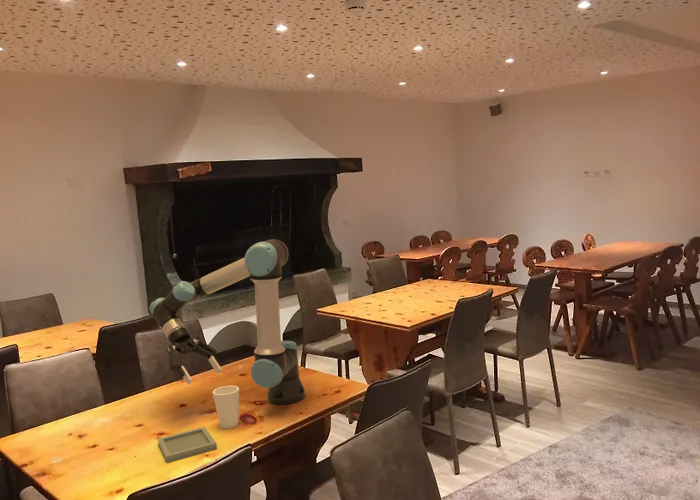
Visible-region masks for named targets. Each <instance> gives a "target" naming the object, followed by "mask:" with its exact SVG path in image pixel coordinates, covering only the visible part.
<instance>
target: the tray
mask: <svg viewBox="0 0 700 500" xmlns="http://www.w3.org/2000/svg"><path fill="white" fill-rule="evenodd" d="M157 444H158V446H159V448H160V449H159V450H160V451H161V453H162V455H163V458H164V460H165V461H166V463H167V464H168V463H171V462H175V461H177V460H182V459H185V458H189V457H193V456H196V455H200V454H203V453H207V452H210V451H215V450H217V449H218V447H217V442H216V441H215V439H214V438H213V436H212V435H211V433H210V432H209V431H208V429H207V428H206V427H205V426H202V427H198V428H194V429H190V430H187V431H182V432H179V433H174V434H170V435H167V436H163V437H159V438H157Z"/></svg>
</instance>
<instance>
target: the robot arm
mask: <svg viewBox="0 0 700 500" xmlns="http://www.w3.org/2000/svg"><path fill="white" fill-rule="evenodd" d="M288 260H289V249H288V247H287V245H286V244H285V243H284V242H283V241H281V240H280V239H275V238H274V239H272V238H270V239H267V240H265V241H259V242H258V241H257V243H255V244H253V245H251V246H250V247H249V248H248V249H247V251H246V253H245V255H244V257H243V258H241V259H238V260H236V261H233V262H231V263H229V264H227V265H226V266H223V267H221V268H219V269H217V270H214V271H212V272H210V273H208V274H206V275H204V276H202V277H200V278H198V279H195V280H193V281H191V282H188V281H186V280H181V281H179V282H178V284H175V286H174V287H173V289H172V290H171V291H170V292H169V293H168V294H167V295H166V297H159V298H156V299H155V300H153V301H152V302H151V303H150V305H149V312H150V313H151V315H152V317H153V318H154V319H155V321H156V323H157V324H158V325H159V327H160V329H161V330H162V332H163V333H164V335H165V337H166V338H167V339H168V341H169V343H170V344H169V345H168V347H167V348H166V351H167V353H168V360H169V371H173V372H175V373H178V375H179V376H180V377H181V378H183V380H184V381H185V383H186V384H187V386H188V385H190V384H191V383H192V381H193V379H192V377H191V376H190V374H189V373H188V370H187V369H186V368H185V366H184V365H182V360H183V356H184V355H186V354H190V353H197V354H198V355H201V356H202V357H205V358H207V359H208V360H207V361H208V362H209V363H210V365H211V367H212V368H213V369H214V371H215V372H216V374H220V372H221V371H222V367H221V365H220V364H219V360H218V359H217V357H216V354H217V353H218V351H217V350H216V349H214V348H213V347H212V346H210V345H208V344H207V343H206V342H204V341H203V340H202V339H201V337H199V336H196V337H195V338H193V339H192V338H191V334H190V333H189V331H188V330H187V328H186V327H185V325H184V324H183V322H182V321H181V319H180V317H179V316H178V313H179V312H180V311H181V310H183V308H184V307H185V306H186V305H188V304H190V303H193V302H195V301H197V300H200V299H203V298H205V297H207V296H209V295H210V294H213V293H216V292H217V291H219V290H222V289H224V288H226V287H228V286H231V285H233V284H235V283H238V282H240V281H241V280H245V279H247V278H250V279H249V280H250V281H252V282H253V283H254V295H255V298H254V299H255V313H256V334H257V336H256V337H257V346H256V348H255V349H254V350H253V353H254V354H253V357H254V362H253V363H252V365H251V367H250V376H251V379H252V381H253V382H254V383H255V384H257V386H258V387H261V388H265V389H267V394H266V397H267V401H268V403H269V404H273V405H289V404H294V403H297V402H300V401H302V400H303V399H304V398H305V397H306V390H305V388H304V387H305V386H304V385H303V383H302V381H301V378H300V369H299V358H298V347H297V343H296V342H295V341H293V340H282V338H281V320H280V319H281V318H280V300H279V296H280V295H279V281H280V280H281V279H282V278H283V276H282V275H283V273H282V267H284V266H285V265H286V263H287V262H288ZM175 351H177V359H176V353H175Z"/></svg>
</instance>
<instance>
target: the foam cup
mask: <svg viewBox="0 0 700 500" xmlns="http://www.w3.org/2000/svg"><path fill="white" fill-rule="evenodd" d="M240 393H241V392H240V387H239V386H237V385H224V386H219V387H217V388H214V390H213V391H212V400H213V401H214V405H215V409H216V414H217V418H218V421H219V425H220V426H219V427H220V428H221V429H232V428H235V427H237V426H238V425H239V412H240V411H239V410H240V407H239V406H240V396H241V395H240Z"/></svg>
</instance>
